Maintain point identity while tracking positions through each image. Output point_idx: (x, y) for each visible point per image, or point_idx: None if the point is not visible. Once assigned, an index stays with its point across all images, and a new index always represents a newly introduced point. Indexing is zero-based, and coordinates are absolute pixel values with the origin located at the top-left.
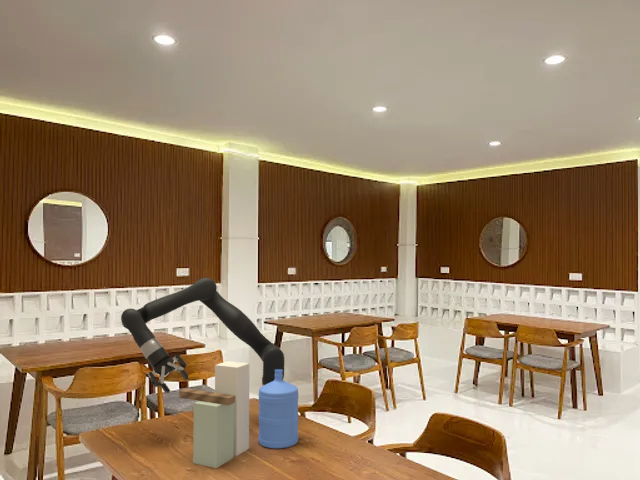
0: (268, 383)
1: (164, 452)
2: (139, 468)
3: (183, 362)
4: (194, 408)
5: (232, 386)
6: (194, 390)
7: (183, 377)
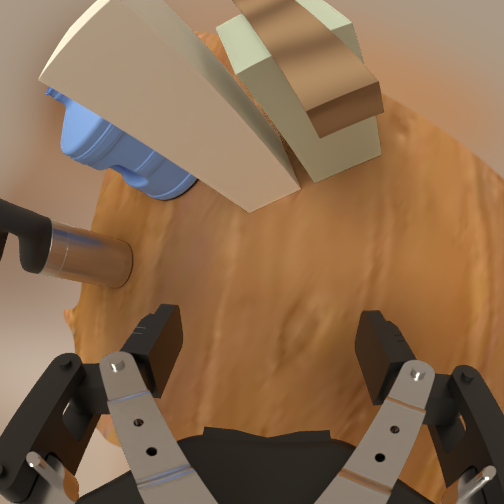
0: (81, 109)
1: (411, 279)
2: (500, 215)
3: (46, 386)
4: (355, 38)
5: (177, 20)
6: (294, 53)
7: (174, 358)
